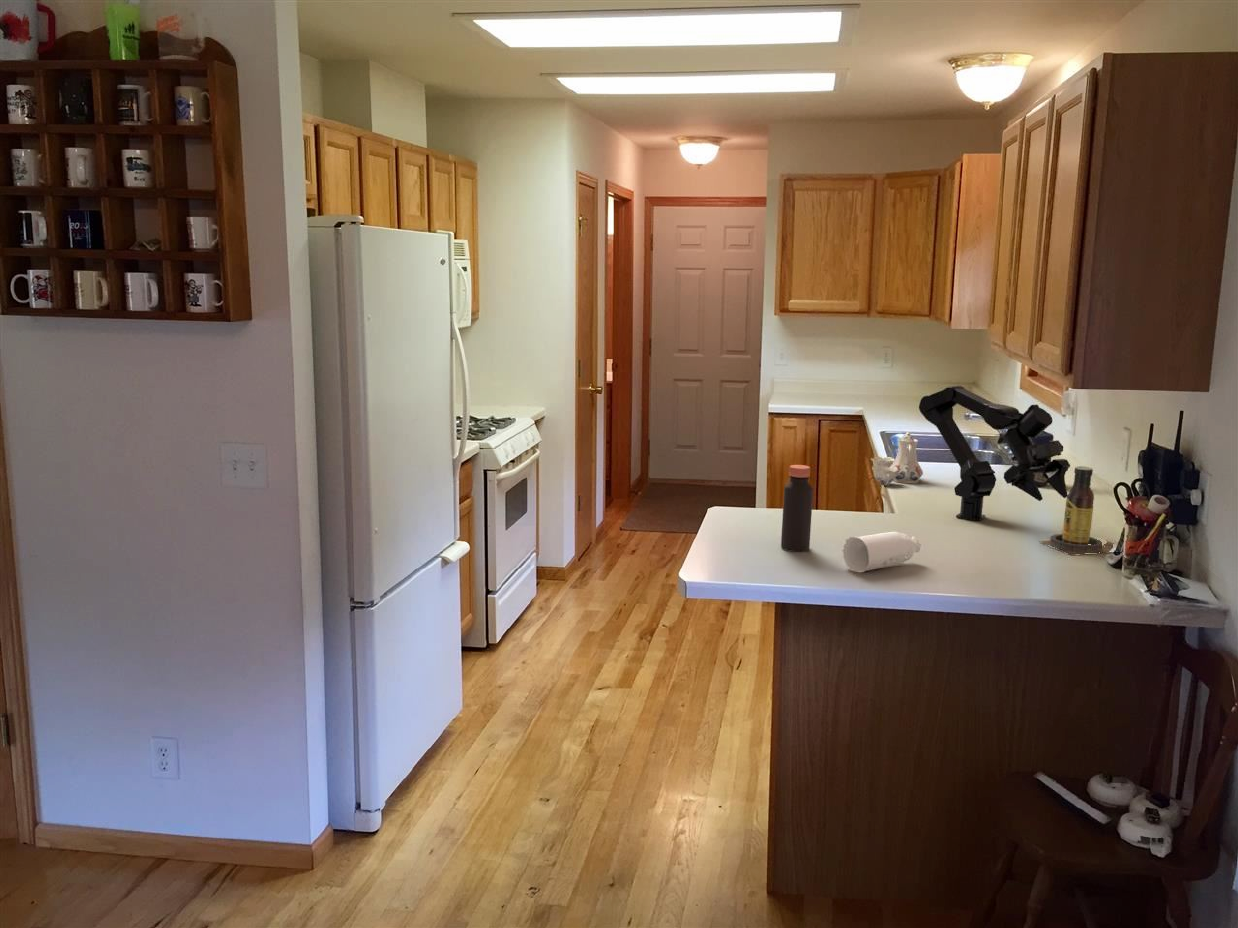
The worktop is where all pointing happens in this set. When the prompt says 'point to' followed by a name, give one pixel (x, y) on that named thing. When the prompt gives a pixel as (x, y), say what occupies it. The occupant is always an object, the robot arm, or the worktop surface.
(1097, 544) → the cup bracket
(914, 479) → the chinaware
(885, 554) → the white bottle
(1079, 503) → the sauce bottle
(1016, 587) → the worktop surface
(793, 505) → the vinegar
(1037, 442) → the candle
